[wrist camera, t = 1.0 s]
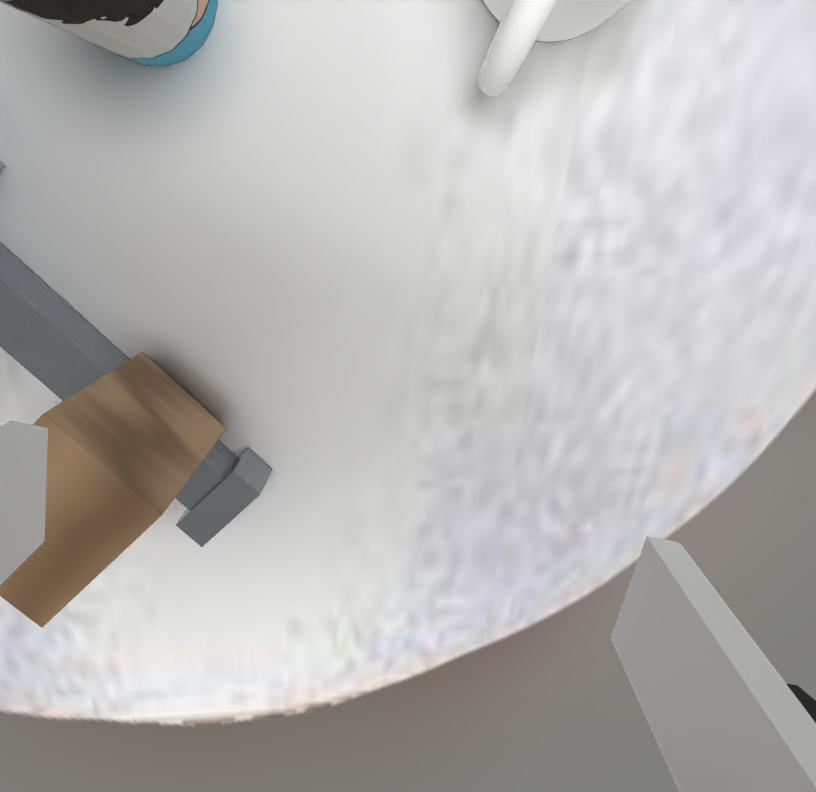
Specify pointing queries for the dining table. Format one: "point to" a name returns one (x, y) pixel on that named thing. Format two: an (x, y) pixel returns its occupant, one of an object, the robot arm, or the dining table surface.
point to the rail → (94, 358)
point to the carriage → (108, 478)
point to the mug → (535, 32)
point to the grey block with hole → (1, 166)
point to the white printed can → (131, 25)
